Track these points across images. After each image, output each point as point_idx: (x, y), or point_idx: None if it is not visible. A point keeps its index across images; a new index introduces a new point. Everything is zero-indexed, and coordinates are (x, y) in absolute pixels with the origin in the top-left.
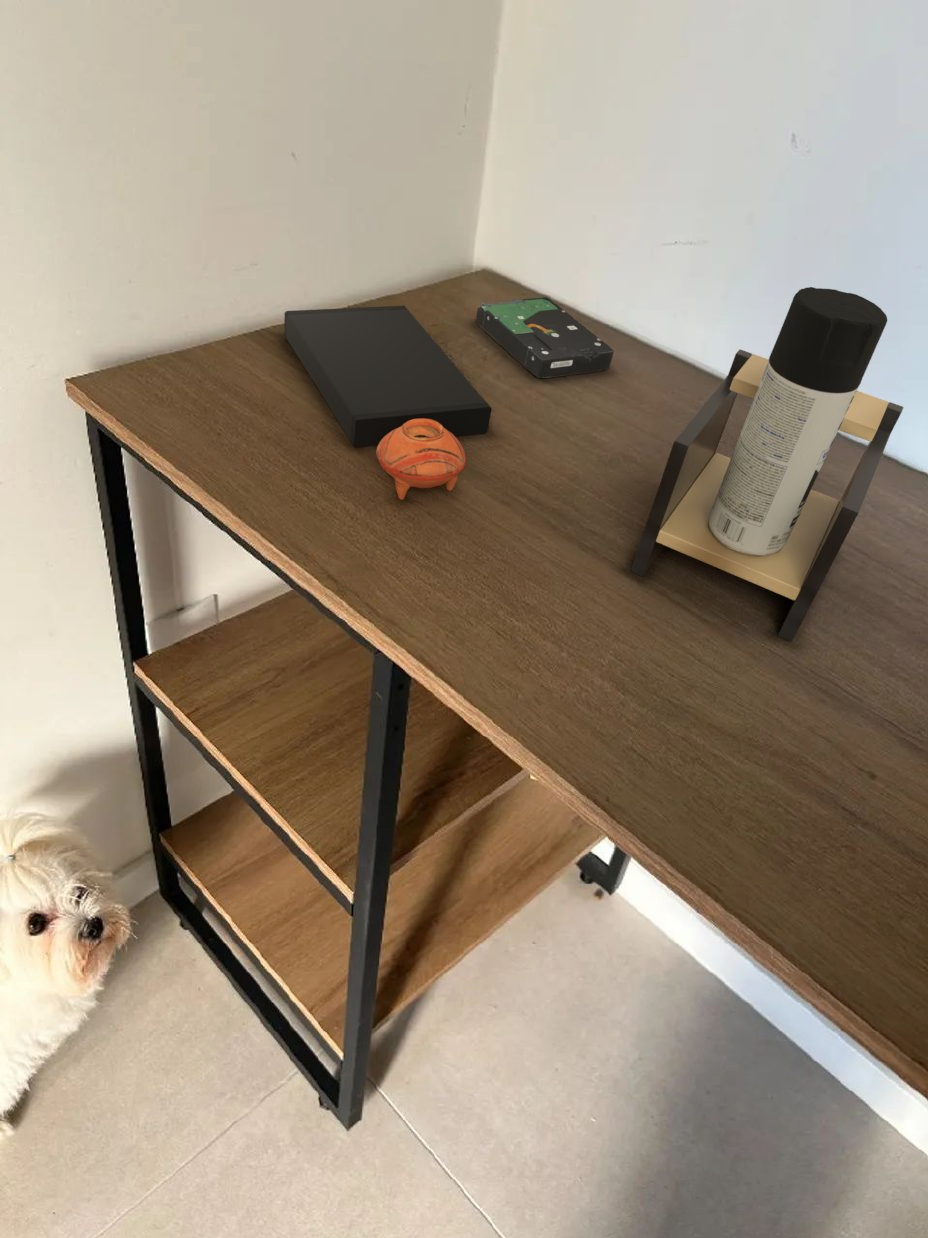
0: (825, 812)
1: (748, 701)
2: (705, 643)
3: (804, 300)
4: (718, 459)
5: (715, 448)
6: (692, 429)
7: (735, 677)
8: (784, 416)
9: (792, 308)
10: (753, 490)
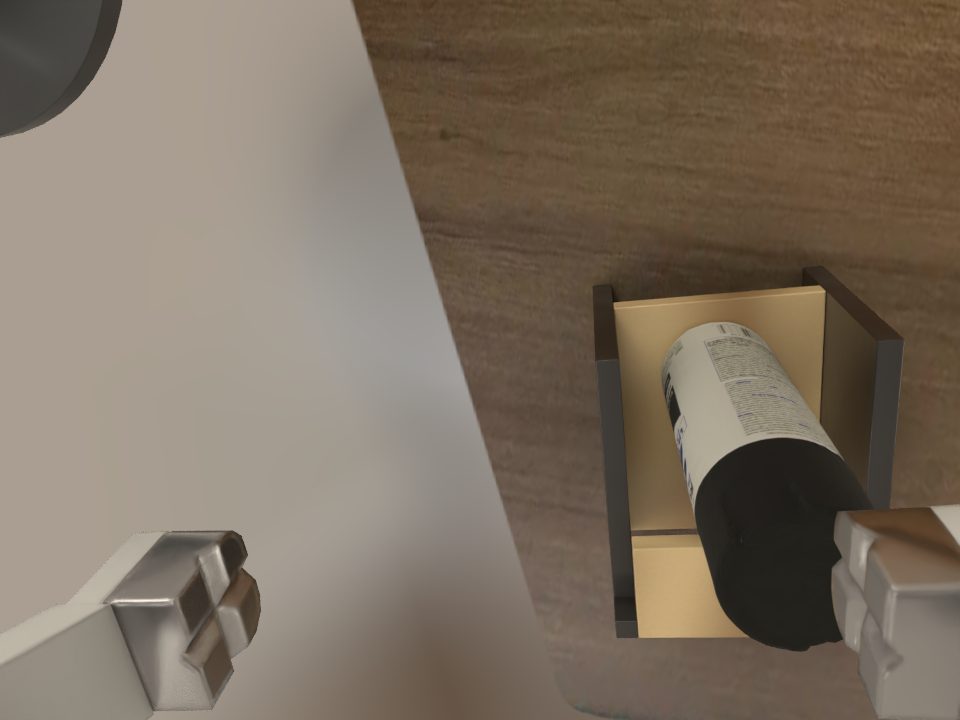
0: (466, 36)
1: (601, 144)
2: (683, 205)
3: None
4: None
5: None
6: (887, 393)
7: (629, 173)
8: (773, 410)
9: None
10: (743, 355)
